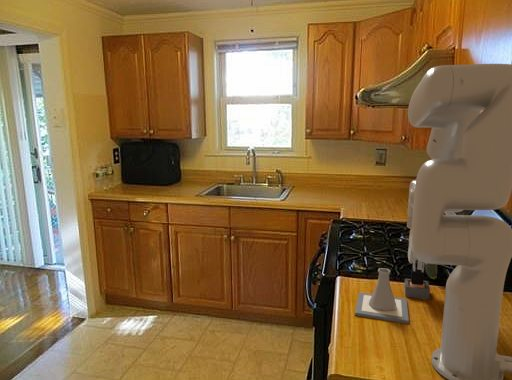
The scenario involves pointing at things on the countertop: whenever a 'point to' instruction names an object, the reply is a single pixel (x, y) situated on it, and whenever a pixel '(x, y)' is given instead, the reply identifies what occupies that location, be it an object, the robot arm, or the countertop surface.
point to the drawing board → (391, 315)
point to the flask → (383, 292)
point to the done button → (417, 285)
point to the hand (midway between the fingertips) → (416, 283)
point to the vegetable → (431, 270)
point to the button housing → (417, 290)
